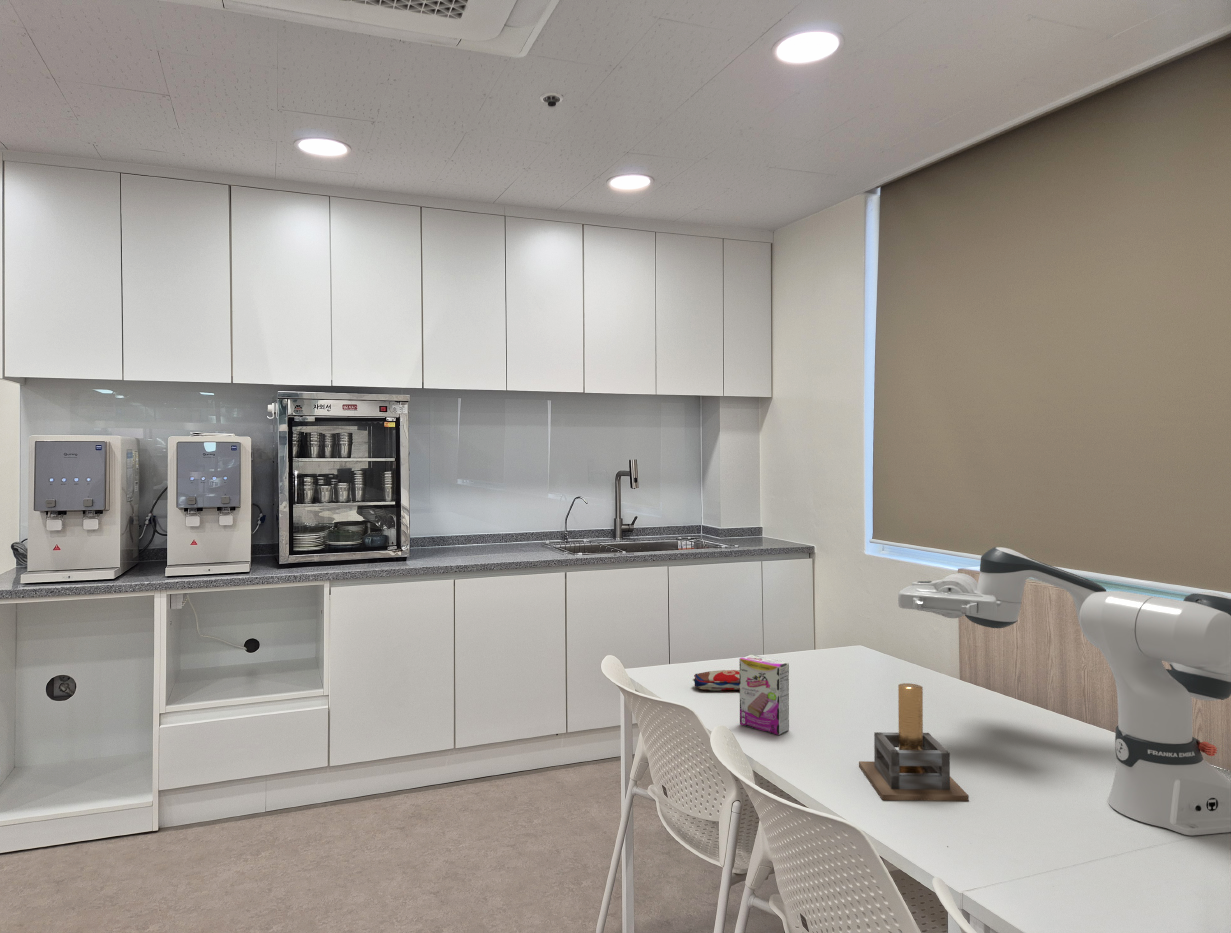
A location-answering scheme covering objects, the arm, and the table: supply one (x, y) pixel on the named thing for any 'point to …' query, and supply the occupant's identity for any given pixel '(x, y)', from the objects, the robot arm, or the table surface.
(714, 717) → the table surface
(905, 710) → the copper tube
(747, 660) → the candy bar box
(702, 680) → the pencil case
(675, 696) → the table surface
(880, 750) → the collar stand
